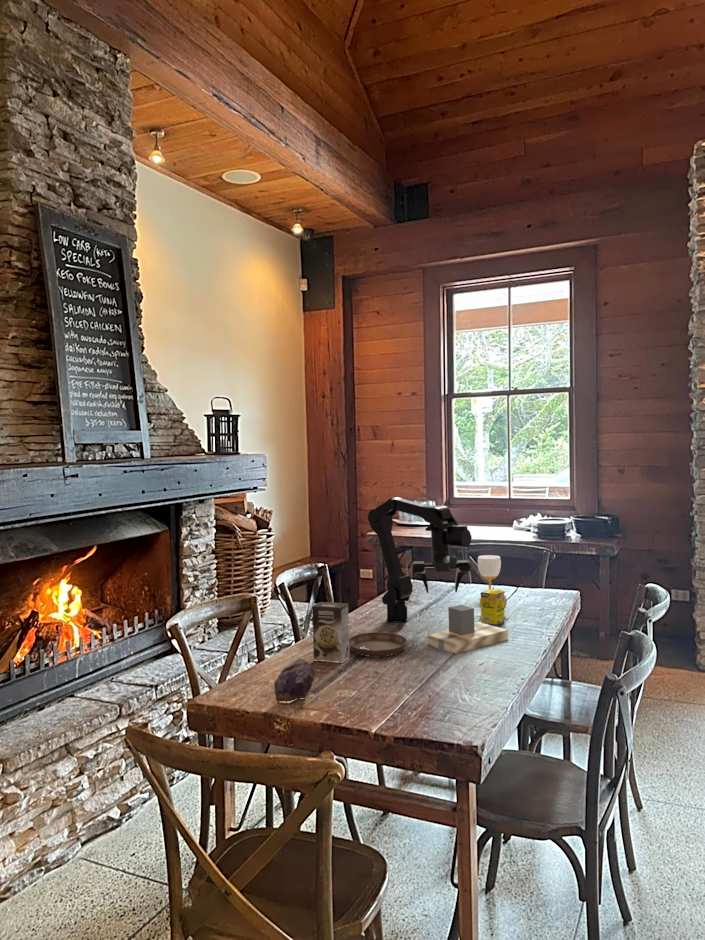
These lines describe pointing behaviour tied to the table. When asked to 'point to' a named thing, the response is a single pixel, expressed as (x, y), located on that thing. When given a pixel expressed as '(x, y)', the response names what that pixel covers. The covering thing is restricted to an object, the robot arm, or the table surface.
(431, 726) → the table surface
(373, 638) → the plant saucer
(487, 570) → the cup
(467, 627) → the block
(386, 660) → the table surface
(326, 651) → the cookie box
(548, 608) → the table surface
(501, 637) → the birch board
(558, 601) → the table surface
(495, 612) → the supplement box
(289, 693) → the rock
